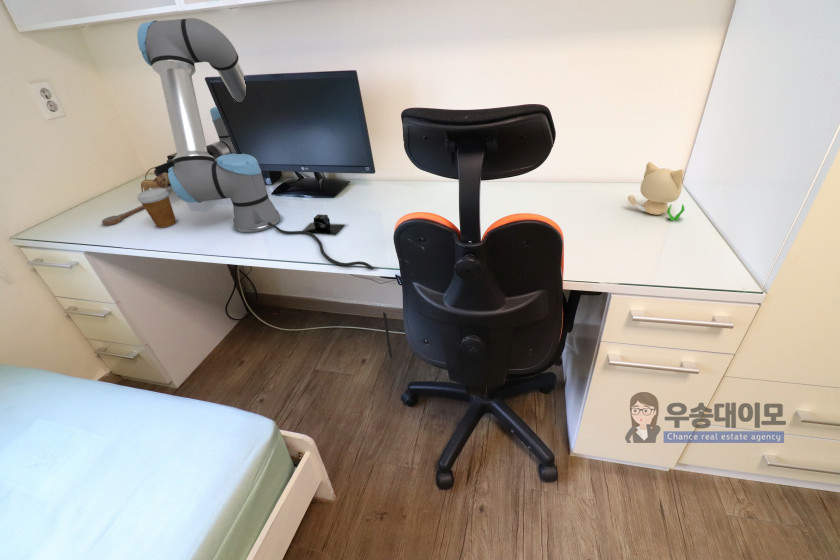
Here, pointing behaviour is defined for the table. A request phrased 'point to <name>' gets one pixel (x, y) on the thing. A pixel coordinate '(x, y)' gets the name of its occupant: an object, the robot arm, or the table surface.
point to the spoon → (120, 217)
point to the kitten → (659, 190)
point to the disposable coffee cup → (158, 206)
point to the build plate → (323, 226)
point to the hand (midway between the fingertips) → (170, 172)
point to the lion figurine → (156, 182)
